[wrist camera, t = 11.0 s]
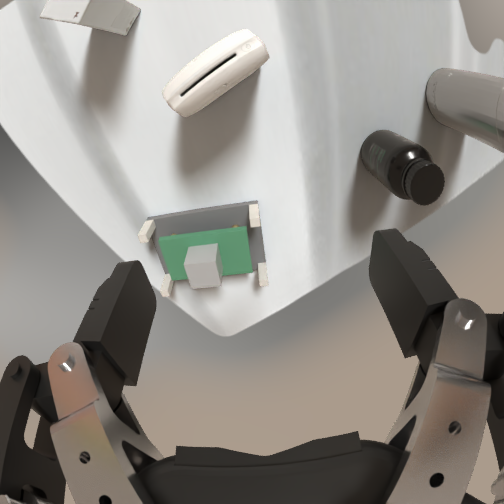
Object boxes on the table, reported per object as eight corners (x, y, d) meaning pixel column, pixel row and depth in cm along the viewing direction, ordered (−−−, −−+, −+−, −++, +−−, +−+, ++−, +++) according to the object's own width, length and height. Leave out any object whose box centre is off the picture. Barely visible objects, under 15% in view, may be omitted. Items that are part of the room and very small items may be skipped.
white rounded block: (246, 37, 26) (247, 16, 16) (267, 63, 28) (280, 55, 18) (177, 87, 29) (145, 93, 19) (199, 112, 31) (177, 129, 21)
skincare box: (142, 8, 22) (100, -15, 12) (126, 36, 24) (78, 25, 15) (105, 0, 20) (56, -18, 11) (91, 27, 23) (37, 19, 13)
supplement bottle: (408, 138, 33) (459, 166, 23) (393, 180, 37) (436, 220, 27) (368, 122, 32) (415, 145, 22) (353, 168, 36) (392, 206, 26)
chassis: (257, 200, 38) (259, 217, 34) (266, 264, 45) (268, 285, 41) (147, 217, 39) (137, 235, 35) (168, 275, 46) (162, 296, 41)
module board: (246, 226, 37) (246, 247, 33) (252, 268, 41) (253, 291, 37) (159, 237, 38) (150, 258, 34) (173, 276, 42) (166, 299, 38)
